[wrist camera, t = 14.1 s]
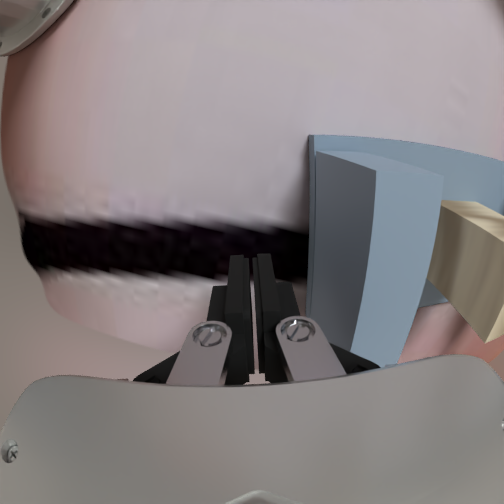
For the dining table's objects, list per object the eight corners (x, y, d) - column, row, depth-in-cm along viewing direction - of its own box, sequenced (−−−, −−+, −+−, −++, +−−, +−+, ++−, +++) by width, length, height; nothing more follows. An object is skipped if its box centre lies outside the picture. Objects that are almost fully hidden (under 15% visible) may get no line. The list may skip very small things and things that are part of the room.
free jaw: (306, 358, 19) (323, 436, 13) (315, 150, 13) (376, 170, 7) (346, 352, 19) (373, 425, 13) (372, 152, 13) (456, 177, 7)
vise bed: (303, 334, 20) (332, 457, 10) (308, 134, 14) (418, 149, 4) (487, 298, 20) (541, 359, 10) (518, 166, 14) (599, 203, 4)
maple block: (417, 269, 16) (484, 343, 9) (430, 199, 14) (521, 254, 7) (463, 263, 16) (526, 322, 9) (476, 201, 14) (554, 247, 7)
